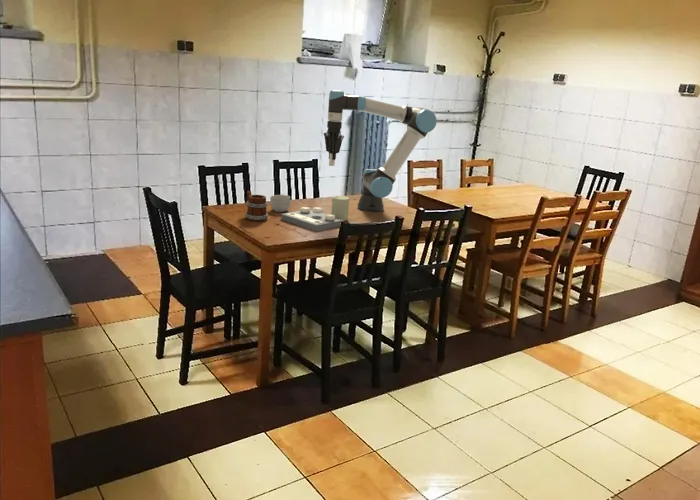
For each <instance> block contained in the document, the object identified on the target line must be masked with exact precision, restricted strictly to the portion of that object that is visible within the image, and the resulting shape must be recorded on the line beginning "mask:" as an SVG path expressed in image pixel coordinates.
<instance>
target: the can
mask: <svg viewBox="0 0 700 500" xmlns="http://www.w3.org/2000/svg"><path fill="white" fill-rule="evenodd" d="M331 197H332V198H331V213H330V214H331V215H335V217H337V218H341V219H344V220H346V221H349V208H350V207H349V206H350V197H348V196H345V195H334V196H331Z"/></svg>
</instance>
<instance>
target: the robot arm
mask: <svg viewBox="0 0 700 500" xmlns="http://www.w3.org/2000/svg"><path fill="white" fill-rule="evenodd" d="M327 108H328V110H327V124H326V125H327V127H326V128H327V130H326V132H323V136H324V143H325V151H326V152H328V166H329V167H333V166H335V164H336V159H337V154H339V153H340V151H341V147H342V143H343V139H344V138H345V136H344V135H342V131H341V130H342V124H343V123H342V121H343V113H344V112H343V111H344V110H345V111H346V110H347V111H356V112H357V111H358V112H363V113H365V114H366V113H368V114H371V115H375V116H379V117H382V118H383V117H384V118H388V119H391V120H395V121H399V123H400V124H403V125H406V131H405V133H404V134H403V136H402V137H401V138H400V140H399V141H398V143H397V144H396V147H394V149H393V150H392V152H391V153H390V155H389V156H388V158H387V160H386V161H385V162H384V164H383V165H382V167H378V168H377V169H376V168H375V169H374V168H372V169H371V168H366V169H364V170H363V173H362V185H361V195H360V198H359V200H358V203H357V209H358V210H361V211H364V212H372V213H373V212H383V211H384V207H385V205H384V202H383V198H386V197H388V196H389V195H391V193H392V191H393V188H394V183H395V182H396V175H397V174H398V172H399V171H400V169H401V168H402V167H403V165H404V164H405V162H406V161H407V159H408V158H409V156H410V155H411V154H412V152H413V150H414V149H415V147H416V146H417V144H418V143H419V141H420V140H421V139H424V138H425V137H426V136H427V135H428V134H429V133H430V132H432V131H433V130H434V129H435V128H436V126H437V121H438V120H437V116H436V114H435V112H433V111H432V110H430V109H428V108H423V107H417V106H416V107H415V106H408V105H403V106H399V105H396V104H391V103H387V102H383V101H380V100H376V99H372V98H368V97H366V96H363V95H356V94H352V93H345V92H344V91H343V90H339V89H337V90H336V89H331V90H329V94H328V107H327Z"/></svg>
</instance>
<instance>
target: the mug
mask: <svg viewBox="0 0 700 500" xmlns="http://www.w3.org/2000/svg"><path fill="white" fill-rule="evenodd" d="M246 194H247V196H246V202H245V204H246V207H247V208H246V209H247V211H246V212H245V213H244V215H245V218H246V219H245V220H247V221H250V222H253V223H254V222H257V223H258V222H266V221H268V218H269V214H268V213H267V207H268V202H267V196H266V195H263V194H252V192H251V191H250V190H247V191H246Z"/></svg>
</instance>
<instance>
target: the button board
mask: <svg viewBox="0 0 700 500" xmlns="http://www.w3.org/2000/svg"><path fill="white" fill-rule="evenodd" d="M325 215H327V214H326V213H325V212H322V213H313V209H311V208H310V213H302V212H300V210H298V211H295V210H294V211H289V212H285V213H284V212H283V213H281V215H280V217H281V218H280V219H281V220H282V221H284V222H287V223H290V224H294V225H296V226H299V227H303V228H306V229H309V230H312V231H314V232H320V231H321V232H322V231H324V230H329V229H335V228H338V227H339V226H340V223H341V222H342V221H345V220H344V219H341V218H337V217H335V220H334V221H328V220H325ZM345 222H346V221H345ZM340 227H341V226H340Z"/></svg>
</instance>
